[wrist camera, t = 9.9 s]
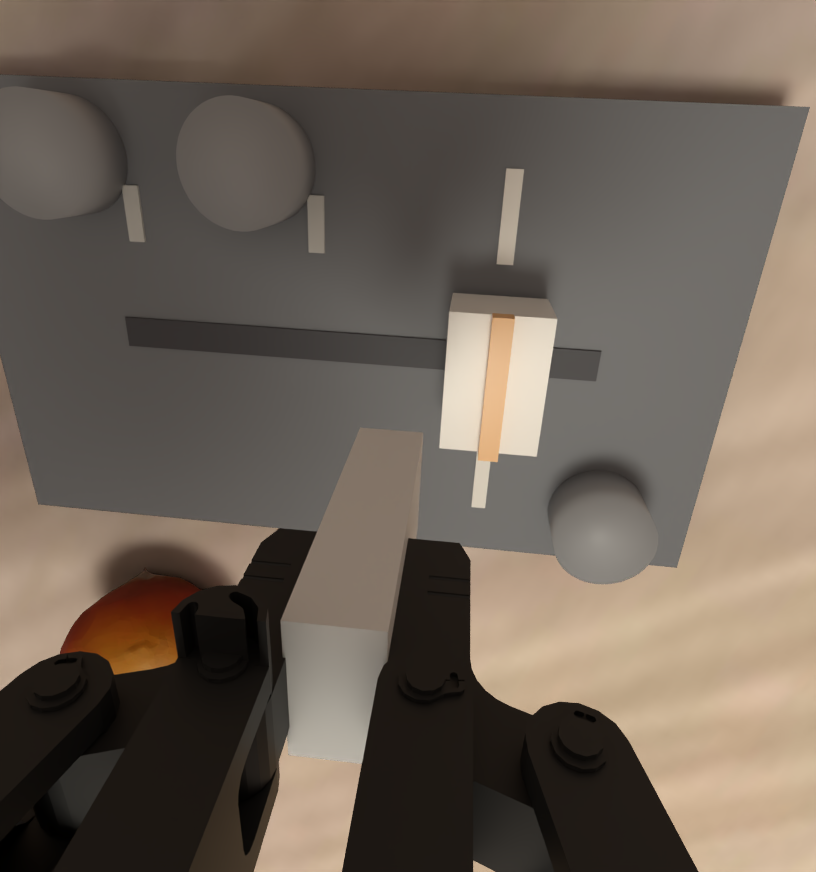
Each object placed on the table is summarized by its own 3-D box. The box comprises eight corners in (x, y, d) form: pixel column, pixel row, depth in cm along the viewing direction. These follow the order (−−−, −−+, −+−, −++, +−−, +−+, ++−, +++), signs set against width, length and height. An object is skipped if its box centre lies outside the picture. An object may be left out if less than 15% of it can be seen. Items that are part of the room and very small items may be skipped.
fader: (443, 417, 25) (438, 456, 21) (452, 291, 22) (448, 314, 19) (530, 424, 24) (537, 465, 21) (548, 297, 22) (559, 322, 19)
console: (64, 483, 31) (2, 532, 27) (-30, 77, 23) (-135, 62, 19) (664, 541, 29) (694, 604, 25) (781, 111, 21) (852, 101, 17)
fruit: (95, 526, 30) (89, 674, 25) (240, 550, 35) (262, 678, 29) (41, 621, 33) (25, 770, 28) (181, 631, 38) (191, 759, 33)
